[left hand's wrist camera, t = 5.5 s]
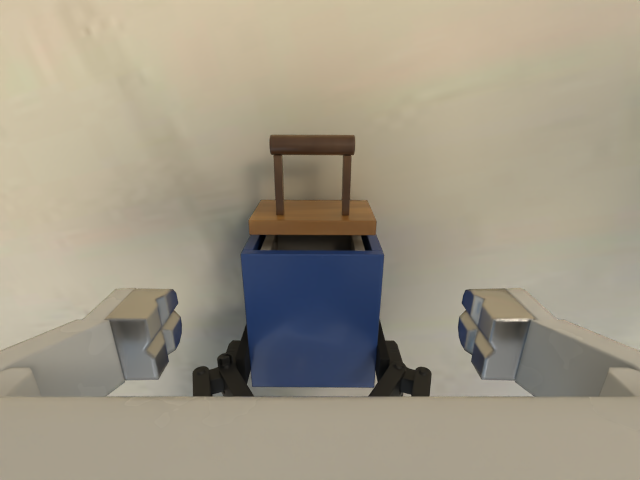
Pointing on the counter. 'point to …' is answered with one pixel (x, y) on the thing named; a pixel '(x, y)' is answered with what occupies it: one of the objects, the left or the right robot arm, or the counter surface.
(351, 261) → the blue square-sided box
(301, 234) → the wooden drawer
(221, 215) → the counter surface
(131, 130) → the counter surface
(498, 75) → the counter surface
